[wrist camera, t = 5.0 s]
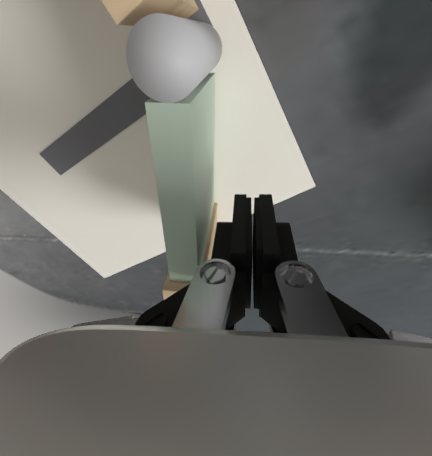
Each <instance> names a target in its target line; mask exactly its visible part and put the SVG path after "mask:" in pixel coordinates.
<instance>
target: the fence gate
mask: <svg viewBox="0 0 432 456" xmlns="http://www.w3.org/2000/svg"><path fill="white" fill-rule="evenodd" d="M221 54H222V42H221V38H220V36H219V34H218V32H217V31H216V30H215V28H214V27H212V26H211V25H209V24H207V23H204V22H199V21H195V20H190V19H186V18H182V17H177V16H173V15H168V14H163V13H153V14H150V15H147V16H145V17H143V18H142V19H140V20H139V21H138V22H137V23H136V24H135V25H134V27H133V28H132V30H131V32H130V34H129V37H128V40H127V45H126V59H127V65H128V69H129V72H130V74H131V76H132V78H133V80H134V82H135V83H136V85H137V86H138V87H139V89H140V90H141V91H142V92H143V93H144V94H146V95H147V96H148V97H150V99H149V100H147V101H146V102H145V108H146V115H147V122H148V129H149V136H150V143H151V150H152V157H153V164H154V171H155V178H156V185H157V192H158V199H159V206H160V213H161V220H162V227H163V234H164V241H165V248H166V255H167V262H168V269H169V272H168V275H167V278H166V281H165V284H164V287H163V290H162V291H163V296H164V300H165V299H166V298H168V297H169V296H171V295H173V294H174V293H176V292H177V291H179V290H181V289H182V288H184V287H185V286H187V285H189V284H190V283H191V281H192V278H193V276H194V274H195V271H196V269H197V268H198V266H199V265H200V264H201V263H203V262H204V261H207V260H210V259H211V256H212V250H213V244H214V238H215V232H216V226H217V205H218V203H215V202H214V172H215V73H210V72H211V71H212V70H213V69H214V67H215V66H216V65H217V64H218V62H219V60H220V58H221Z"/></svg>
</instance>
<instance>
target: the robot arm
mask: <svg viewBox="0 0 432 456" xmlns="http://www.w3.org/2000/svg"><path fill="white" fill-rule="evenodd" d="M246 196H247V194H235V196H234V208H233V220H232V222H217V226H216V232H215V238H214V244H213V250H212V256H211V259H210V260H207V261H204V262H203V263H201V264H200V265H199V266H198V268H197V269H196V271H195V274H194V276H193V278H192V281H191V283H190V284H189V285H187V286H185V287H184V288H182V289H181V290H179V291H177V292H176V293H174V294H173V295H171V296H169V297H168V298H166V299H165V300H163V301H161V302H160V303H158V304H157V305H155V306H153V307H152V308H150V309H149V310H147V311H146V312H144V313H143V314H142V315H141V316H140V317H139V318H133V315H132V316H125V317H119V318H113V319H106V320H100V321H93V322H87V323H81V324H77V325H74V326H72V327H70V328H64V329H59V330H55V331H52V332H49V333H45V334H42V335H39V336H37V337H34V338H31V339H29V340H27V341H25V342H23V343H21V344H19V345H18V346H16V347H14V348H13V349H12V350H11V351H9V352H8V353H7V354H6V355H5V356H4V357H2V359H0V456H432V339H431V338H427V337H422V336H418V335H414V334H410V333H406V332H401V331H397V330H393V329H391V331H390V332H387V331H384V330H383V328H381V327H380V326H379V325H378V324H376V323H375V322H374V321H372V320H370V319H369V318H367V317H366V316H364V315H363V314H361V313H360V312H358V311H356V310H355V309H353V308H352V307H350V306H349V305H347V304H346V303H344V302H343V301H341V300H339V299H338V298H336V297H335V296H333V295H332V294H330V293H329V292H327V291H326V290H325V289H324V287H323V285H322V283H321V281H320V279H319V277H318V275H317V273H316V272H315V270H314V269H313V268H312V267H310V266H309V265H307V264H305V263H303V262H299V261H298V259H297V254H296V250H295V245H294V241H293V236H292V232H291V227H290V224H289V223H276V220H275V213H274V207H273V200H272V194H259V197H254V220H253V292H254V309H259V317H262V318H263V319H264V320H265V321H266V322H268V323H269V331H270V332H255V331H237V330H236V323H237V322H238V321H239V320H241V319H242V318H243V317H244V316H245V308H250V304H251V278H252V210H251V197H246Z"/></svg>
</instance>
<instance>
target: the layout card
mask: <svg viewBox="0 0 432 456" xmlns="http://www.w3.org/2000/svg"><path fill="white" fill-rule="evenodd" d="M194 1H195V2H196V4H197V6H198V8H199V9H198V10H197V11H196V12H195V13H194V14H193V15H191V16H190V17H189V18H188V19H190V20H195V21H199V22H204V23H207V24H209V25H211V26H212V27H214V28H215V30H216V31H217V32H218V34H219V36H220V38H221V42H222V54H221V58H220V60H219V62H218V64H217V65H216V66H215V67H214V69H213V70H212V71H211V72H210V73H215V172H214V202H215V203H218V205H217V222H232V220H233V208H234V196H235V194H247V196H246V197H251V210H252V214H253V213H254V197H259V194H272V200H273V205H274V204H276V203H279V202H281V201H283V200H285V199H288V198H290V197H292V196H295V195H297V194H299V193H302V192H304V191H306V190H308V189H311V188H313V187H315V183H314V181H313V179H312V177H311V174H310V172H309V170H308V167H307V165H306V163H305V161H304V158H303V156H302V154H301V151H300V149H299V147H298V145H297V142H296V140H295V138H294V135H293V133H292V131H291V128H290V126H289V124H288V122H287V119H286V117H285V115H284V112H283V110H282V108H281V106H280V103H279V101H278V99H277V96H276V94H275V92H274V89H273V87H272V85H271V83H270V80H269V78H268V76H267V73H266V71H265V69H264V67H263V64H262V62H261V60H260V57H259V55H258V53H257V50H256V48H255V46H254V44H253V41H252V39H251V37H250V34H249V32H248V30H247V28H246V25H245V23H244V21H243V18H242V16H241V14H240V11H239V9H238V7H237V5H236V2H235V0H194ZM133 27H134V26H127V25H117V24H116V23H115V21H114V19H113V18H112V16H111V15H110V13H109V12H108V10H107V9H106V7H105V6H104V4H103V3H102V1H101V0H0V189H1V190H2V191H3V192H4V193H6V194H7V195H8V196H9V197H10V198H11V199H13V200H14V201H15V202H16V203H17V204H18V205H20V206H21V207H22V208H23V209H24V210H25V211H27V212H28V213H29V214H30V215H31V216H32V217H34V218H35V219H36V220H37V221H38V222H39V223H41V224H42V225H43V226H44V227H45V228H46V229H48V230H49V231H50V232H51V233H52V234H53V235H55V236H56V237H57V238H58V239H59V240H60V241H62V242H63V243H64V244H65V245H66V246H67V247H69V248H70V249H71V250H72V251H73V252H74V253H76V254H77V255H78V256H79V257H80V258H81V259H83V260H84V261H85V262H86V263H87V264H88V265H90V266H91V267H92V268H93V269H94V270H95V271H97V272H98V273H99V274H100V275H101V276H103V277H104V278H106V277H108V276H111V275H113V274H115V273H118V272H120V271H122V270H124V269H127V268H129V267H131V266H134V265H136V264H138V263H141V262H143V261H145V260H147V259H150V258H152V257H154V256H157V255H159V254H161V253H164V252H166V248H165V241H164V234H163V227H162V220H161V213H160V206H159V199H158V192H157V185H156V178H155V171H154V164H153V157H152V150H151V143H150V136H149V129H148V122H147V115H146V108H145V102H146V101H147V100H149V99H150V97H148V96H147V95H146V94H144V93H143V92H142V91H141V90H140V89H139V87H138V86H137V85H136V83H135V82H134V80H133V78H132V76H131V74H130V72H129V69H128V65H127V59H126V45H127V40H128V37H129V34H130V32H131V30H132V28H133Z"/></svg>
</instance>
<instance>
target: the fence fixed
mask: <svg viewBox="0 0 432 456" xmlns="http://www.w3.org/2000/svg"><path fill="white" fill-rule="evenodd" d="M101 1H102V3H103V4H104V6H105V7H106V9H107V10H108V12H109V13H110V15H111V16H112V18H113V19H114V21H115V23H116V24H117V25H127V26H134V25H135V24H136V23H137V22H138V21H139V20H140V19H142V18H143V17H145V16H147V15H150V14H153V13H163V14H168V15H173V16H177V17H182V18H186V19H188V18H189V17H190V16H191V15H193V14H194V13H195V12H196V11H197V10H198V9H199V8H198V6H197V4H196V2H195V1H194V0H101Z"/></svg>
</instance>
